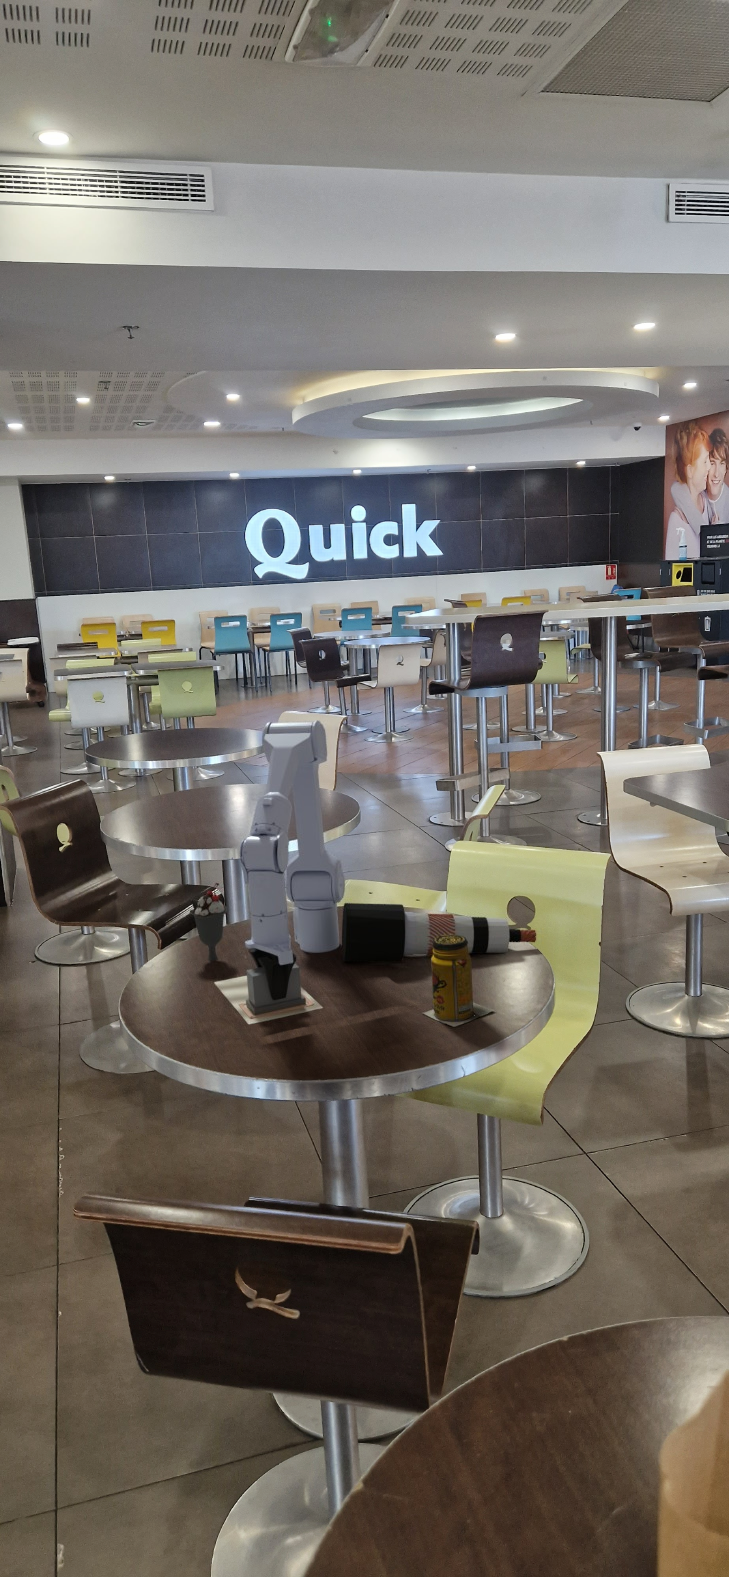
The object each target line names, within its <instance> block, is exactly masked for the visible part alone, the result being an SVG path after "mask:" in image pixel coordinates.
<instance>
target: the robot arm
mask: <svg viewBox="0 0 729 1577" xmlns="http://www.w3.org/2000/svg"><path fill="white" fill-rule="evenodd" d="M261 744H262V749H263V753H264V755H265V758H266V761H267V762H268V763H269V764H268V773H267V780H266V790H265V794H264V795H261V796H260V797H259V798H258V799H257V801H256V804H255V809H254V813H253V817H252V818H253V819H252V822H251V826H250V832H249V835H248V836H247V837H246V838H243V839H242V841H241V842H240V846H239V847H240V848H239V864H240V868H241V871H242V874H243V882H244V884H245V885H247V891H248V901H249V902H248V903H249V914H250V915H249V916H250V931H251V933H250V934H251V939H249V940H246V941H244V944H245V948H247V949H248V953H249V954H250V956H251V958H252V959H253V962H254V964H255V966H256V968H260V967H263V969H264V972H265V974H266V977H267V981H268V986H269V991H270V994H271V997H272V999H273V1000H279V999H283V998H286V995H287V989H288V983H289V977H290V973H291V971H292V968H293V966H294V964H296V962H297V955H296V954H295V953H293V950H292V948H291V946H292V945H291V944H292V939H291V935H290V928H289V918H288V917H289V916H288V905H287V898H288V900H289V902H291V903H293V905H294V906H293V907H294V908H293V911H292V920H293V931H294V932H293V934H294V942H295V943H297V944H298V945H299V948H300V950H302V951H303V952H306V953H314V954H315V953H317V954H319V953H327V952H331V951H334V950H336V949H337V948H339V946H340V934H339V933H340V932H339V917H338V903H341V901H342V900H343V898H344V896H345V890H346V882H345V874H344V872H343V865H342V862H341V859H340V858H339V857H337V856H336V855H335V854H334V855H333V854H332V853H331V852H329V851H327V850H326V848H325V837H324V827H323V825H324V824H323V814H322V804H321V800H322V799H321V791H320V790H321V789H320V779H319V778H320V777H319V766H320V764H322V763H325V762H327V760H328V749H327V748H328V746H327V733H326V729H325V727H324V725H323V724H322V722H321V721H320V720H317V719H315V720H313V721H312V720H311V721H291V722H289V721H285V722H283V721H282V722H273V721H268V722H267V723H265V725H264V727H263V729H262V733H261ZM291 789H292V796H293V805H292V803H291V801H290V800H289V797H290V794H291ZM293 808H294V819H295V827H296V828H295V829H296V830H295V831H296V840H297V850H298V852H297V854H296V855H294V856H293V857H292V858H291V859H289V856H290V855H289V854H290V853H289V852H290V851H289V845H290V839H289V837H288V833H289V829H290V822H291V818H292V813H293ZM285 871H286V874H285ZM285 875H286V877H285Z"/></svg>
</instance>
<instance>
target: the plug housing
mask: <svg viewBox="0 0 729 1577" xmlns="http://www.w3.org/2000/svg"><path fill="white" fill-rule="evenodd" d="M246 976H247V984H248V996H249V1001H250V1002H251V1004H252V1005H253V1006H254V1007H260V1006H264V1005H269V1004H273V1003H278V1002H283V1001H287V1000H292V999H297V998H301V987H302V986H301V974H300V967H299V966H298V964H296V963H295V964H294V966H293V968H292V971H291V973H290V977H289V983H288V989H287V995H286V998H283V999H279V1000H273V999H272V997H271V994H270V991H269V986H268V981H267V977H266V974H265V972H264V969H263V967H260V968H257V967H256V968H252V969H246Z"/></svg>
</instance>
